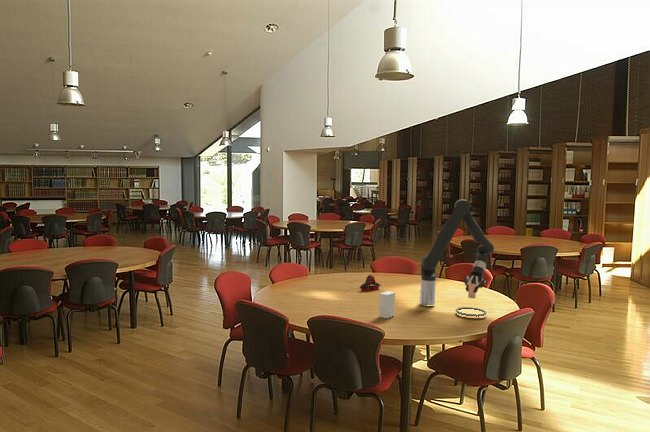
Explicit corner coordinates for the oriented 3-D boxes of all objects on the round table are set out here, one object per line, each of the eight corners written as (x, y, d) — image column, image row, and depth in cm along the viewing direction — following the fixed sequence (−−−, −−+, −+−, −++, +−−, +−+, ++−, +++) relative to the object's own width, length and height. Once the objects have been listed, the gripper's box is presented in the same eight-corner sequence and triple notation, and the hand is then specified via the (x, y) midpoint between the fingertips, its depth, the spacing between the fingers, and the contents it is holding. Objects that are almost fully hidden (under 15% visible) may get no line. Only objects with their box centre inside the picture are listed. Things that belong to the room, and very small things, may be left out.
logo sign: (362, 292, 372) (362, 276, 371) (359, 291, 375) (359, 276, 374) (381, 289, 382) (381, 274, 381) (378, 288, 385) (378, 273, 384)
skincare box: (386, 314, 314) (387, 290, 313) (394, 316, 310) (395, 292, 308) (378, 317, 308) (379, 292, 306) (386, 319, 304) (387, 294, 302)
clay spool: (469, 298, 314) (469, 284, 313) (467, 296, 318) (467, 283, 318) (476, 298, 314) (476, 284, 313) (474, 296, 318) (474, 283, 317)
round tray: (459, 318, 308) (459, 314, 308) (452, 310, 326) (453, 306, 326) (489, 319, 308) (490, 315, 308) (481, 311, 326) (481, 307, 325)
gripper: (466, 264, 325) (458, 286, 316) (488, 267, 316) (481, 289, 307) (468, 271, 329) (461, 293, 321) (491, 274, 321) (483, 296, 312)
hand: (470, 291), depth 314 cm, fingers closed on clay spool, 4 cm apart
